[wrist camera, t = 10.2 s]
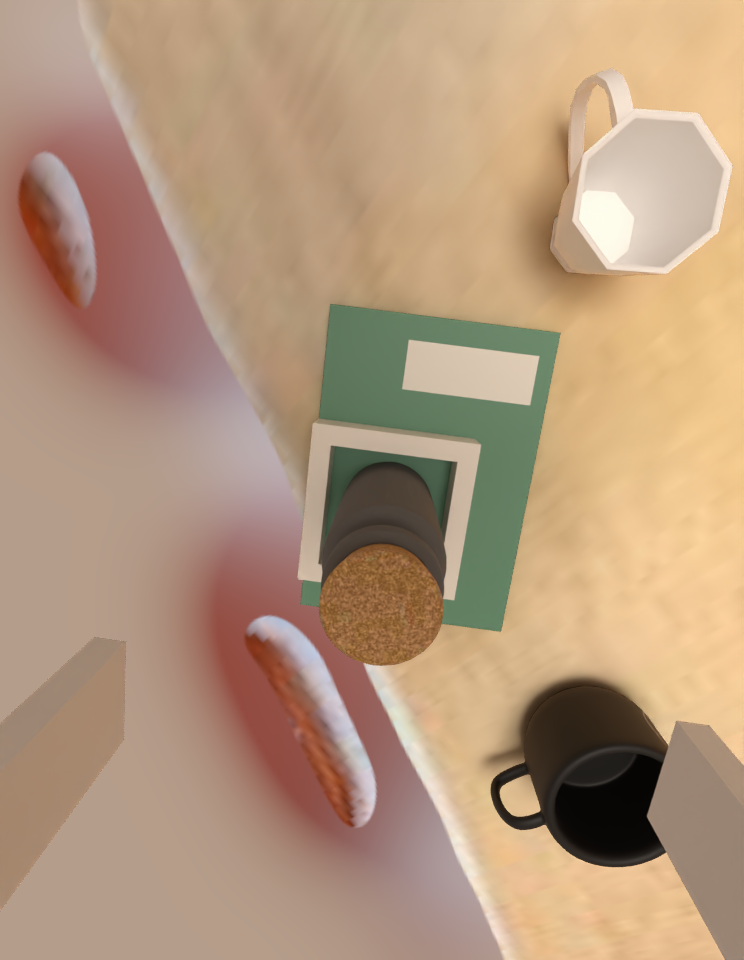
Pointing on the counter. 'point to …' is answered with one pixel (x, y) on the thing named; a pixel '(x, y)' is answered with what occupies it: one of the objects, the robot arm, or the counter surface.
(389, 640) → the bottle
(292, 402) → the counter surface
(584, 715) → the mug
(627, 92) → the cup
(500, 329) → the board
